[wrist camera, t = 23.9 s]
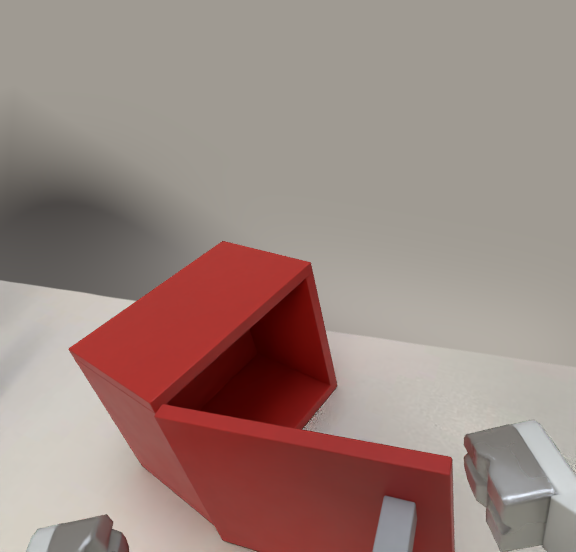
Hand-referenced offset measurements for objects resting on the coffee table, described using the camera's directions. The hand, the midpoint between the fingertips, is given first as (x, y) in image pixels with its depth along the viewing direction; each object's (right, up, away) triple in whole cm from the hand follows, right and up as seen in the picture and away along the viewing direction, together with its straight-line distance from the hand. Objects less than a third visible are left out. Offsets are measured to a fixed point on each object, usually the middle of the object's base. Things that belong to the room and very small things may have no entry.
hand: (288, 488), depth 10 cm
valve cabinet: (-4, -10, +34) cm, 36 cm away
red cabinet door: (+2, -17, +20) cm, 27 cm away
